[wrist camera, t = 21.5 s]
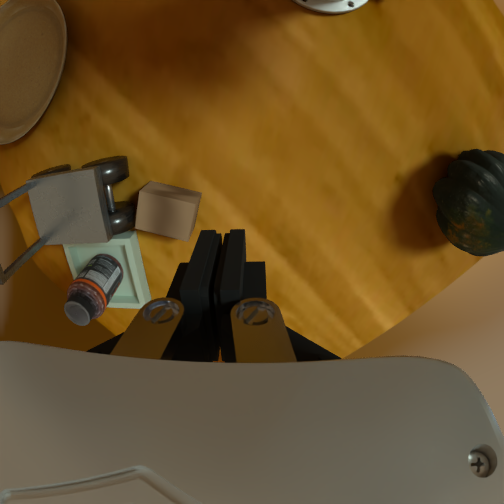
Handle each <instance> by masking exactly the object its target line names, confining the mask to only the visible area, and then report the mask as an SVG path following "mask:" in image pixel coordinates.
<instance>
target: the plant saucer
mask: <svg viewBox="0 0 504 504" xmlns="http://www.w3.org/2000/svg"><path fill="white" fill-rule="evenodd" d="M67 43H68V36H67V25H66V20H65V17H64V14H63V11H62V9H61V7H60V6H59V4H58V3H57V1H56V0H9V1H7V2H6V3H5V4H3V5H2V6H1V7H0V144H8V143H11V142H13V141H16V140H17V139H19V138H21V137H22V136H23V135H25V134H26V133H27V132H28V131H29V130H30V129H31V128H32V127H33V126H34V125H35V124H36V123H37V122H38V120H39V119H40V118H41V116H42V115H43V113H44V112H45V110H46V109H47V107H48V105H49V104H50V102H51V100H52V98H53V96H54V94H55V92H56V90H57V87H58V84H59V82H60V79H61V76H62V72H63V69H64V65H65V60H66V53H67Z"/></svg>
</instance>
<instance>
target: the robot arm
mask: <svg viewBox="0 0 504 504" xmlns="http://www.w3.org/2000/svg"><path fill="white" fill-rule="evenodd" d="M293 1H294V2H296V3H297V4H299V5H301V6H303V7H305V8H307V9H310V10H313V11H316V12H321V13H326V14H341V13H347V12H351V11H354V10H356V9H358V8H360V7H361V6H363V5H364V4H365V3H366V2H367V1H368V0H306V2H303V1H302V0H293ZM348 4H349V5H350V6H351V7H349V6H348ZM220 349H221V356H222V361H225V363H218V362H213V361H218V358H219V350H220ZM0 504H504V436H503V434H502V432H501V430H500V427H499V425H498V423H497V421H496V419H495V417H494V415H493V413H492V410H491V408H490V407H489V405H488V403H487V401H486V400H485V398H484V396H483V395H482V393H481V391H480V390H479V389H478V387H477V386H476V384H475V383H474V382H473V380H472V379H471V378H470V377H469V376H468V375H467V374H466V372H464V371H463V370H462V369H461V368H459V367H457V366H456V365H454V364H451V363H448V362H446V361H442V360H438V359H432V358H427V357H420V356H419V357H418V356H379V357H367V358H351V359H341V358H340V357H338V356H336V355H335V354H333V353H331V352H329V351H328V350H326V349H324V348H322V347H321V346H319V345H317V344H315V343H314V342H312V341H310V340H309V339H307V338H305V337H303V336H302V335H300V334H298V333H297V332H295V331H293V330H292V329H290V328H288V327H286V326H285V323H284V320H283V317H282V314H281V311H280V309H279V307H278V306H277V305H276V304H275V303H274V302H272V301H270V300H268V299H267V296H266V273H265V262H246V243H245V229H234V230H230V233H225V236H224V241H223V245H222V236H221V233H220V234H216V230H201V232H200V235H199V237H198V240H197V243H196V245H195V248H194V251H193V253H192V256H191V259H190V261H189V263H180V264H179V266H178V269H177V271H176V274H175V276H174V278H173V281H172V283H171V286H170V288H169V291H168V293H167V296H166V298H157V299H154V300H151V301H149V302H148V303H146V304H144V305H143V307H142V308H141V309H140V310H139V312H138V313H137V315H136V316H135V317H134V319H133V320H132V322H131V323H130V325H129V326H128V328H127V329H126V331H125V332H123V333H121V334H119V335H118V336H116V337H114V338H112V339H110V340H108V341H106V342H104V343H102V344H100V345H98V346H96V347H94V348H92V349H90V350H88V351H86V352H83V351H76V350H69V349H63V348H57V347H51V346H46V345H38V344H32V343H26V342H16V341H0Z"/></svg>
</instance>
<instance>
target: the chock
mask: <svg viewBox="0 0 504 504" xmlns="http://www.w3.org/2000/svg"><path fill="white" fill-rule="evenodd" d="M201 194H202V193H200V192H196V191H192V190H188V189H184V188H179V187H175V186H171V185H166V184H162V183H158V182H153V181H150V182H149V183H148V184H147V185H146V186H145V187H143V188H142V189H141V190H140V191H139V198H138V206H137V215H136V224H135V229H139V230H143V231H147V232H151V233H155V234H159V235H163V236H167V237H171V238H175V239H179V240H183V241H187V242H188V241H189V238H190V236H191V234H192V231H193V229H194V227H195V222H196V217H197V212H198V208H199V203H200V199H201Z"/></svg>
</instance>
